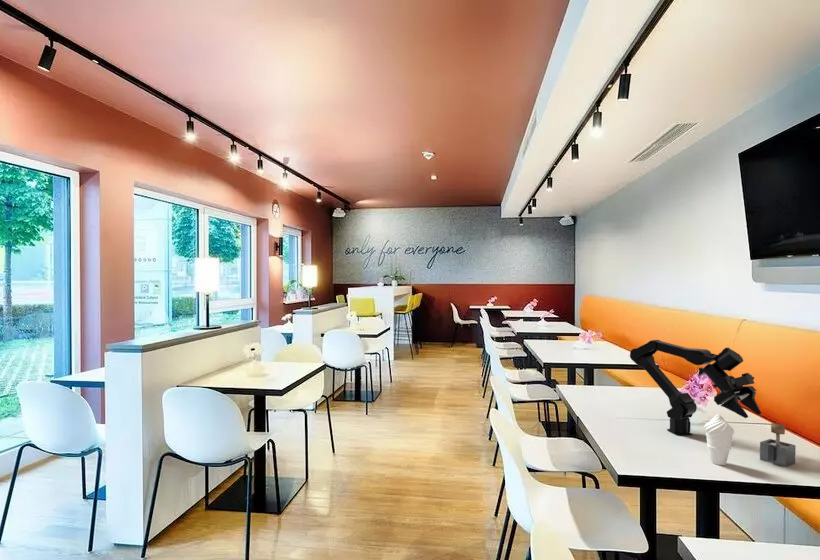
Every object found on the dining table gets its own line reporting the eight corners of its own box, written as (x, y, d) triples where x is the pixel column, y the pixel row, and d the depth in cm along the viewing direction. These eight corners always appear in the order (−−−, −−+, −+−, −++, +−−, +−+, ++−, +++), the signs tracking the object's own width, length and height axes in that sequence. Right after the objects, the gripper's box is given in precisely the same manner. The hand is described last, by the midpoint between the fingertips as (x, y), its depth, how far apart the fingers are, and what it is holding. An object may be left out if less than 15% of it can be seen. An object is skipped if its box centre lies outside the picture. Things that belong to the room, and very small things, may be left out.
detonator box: (758, 460, 157) (758, 442, 157) (770, 456, 161) (770, 438, 161) (783, 467, 151) (783, 449, 151) (795, 463, 155) (795, 445, 155)
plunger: (764, 446, 157) (765, 423, 157) (772, 443, 160) (772, 421, 160) (783, 451, 153) (783, 428, 153) (790, 448, 155) (790, 425, 155)
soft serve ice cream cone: (734, 470, 148) (735, 419, 148) (703, 464, 153) (704, 415, 153) (732, 461, 156) (733, 413, 156) (703, 456, 160) (704, 409, 160)
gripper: (723, 367, 163) (759, 406, 153) (750, 363, 172) (785, 400, 162) (700, 385, 169) (732, 424, 160) (727, 380, 179) (759, 417, 169)
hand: (753, 415), depth 163 cm, fingers open, 9 cm apart
